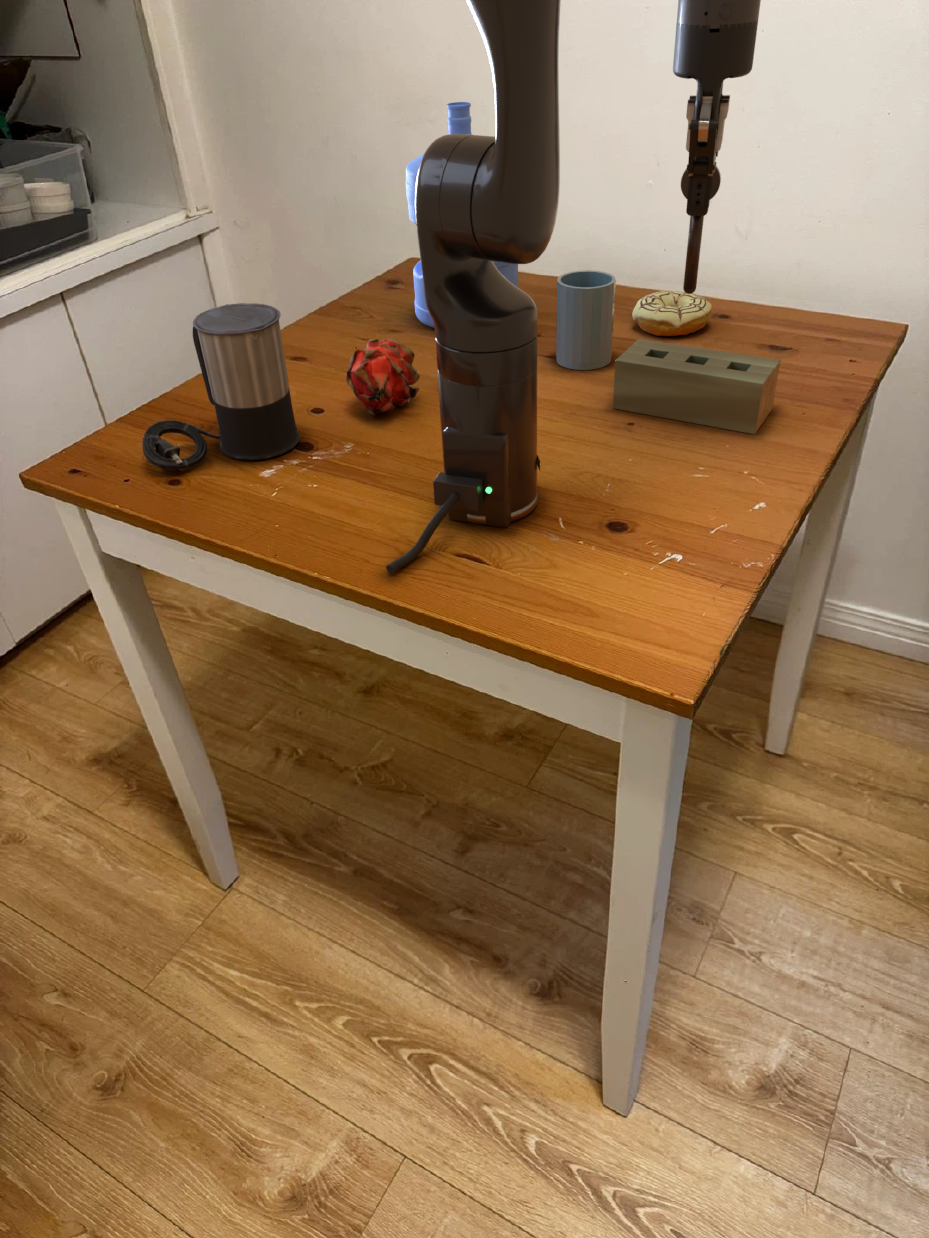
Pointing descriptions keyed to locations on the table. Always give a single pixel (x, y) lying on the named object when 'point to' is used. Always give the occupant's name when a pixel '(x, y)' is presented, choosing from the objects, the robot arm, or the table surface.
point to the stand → (696, 385)
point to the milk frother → (236, 389)
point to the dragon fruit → (382, 375)
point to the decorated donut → (672, 313)
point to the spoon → (695, 234)
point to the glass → (585, 319)
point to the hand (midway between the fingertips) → (697, 212)
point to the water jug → (457, 125)
